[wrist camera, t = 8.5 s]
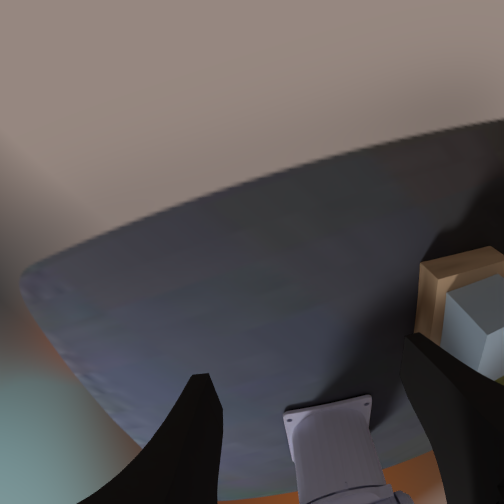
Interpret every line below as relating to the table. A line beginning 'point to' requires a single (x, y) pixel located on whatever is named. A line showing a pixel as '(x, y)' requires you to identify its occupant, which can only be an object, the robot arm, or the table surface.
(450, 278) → the oak block
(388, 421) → the table surface
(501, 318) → the grey cube
